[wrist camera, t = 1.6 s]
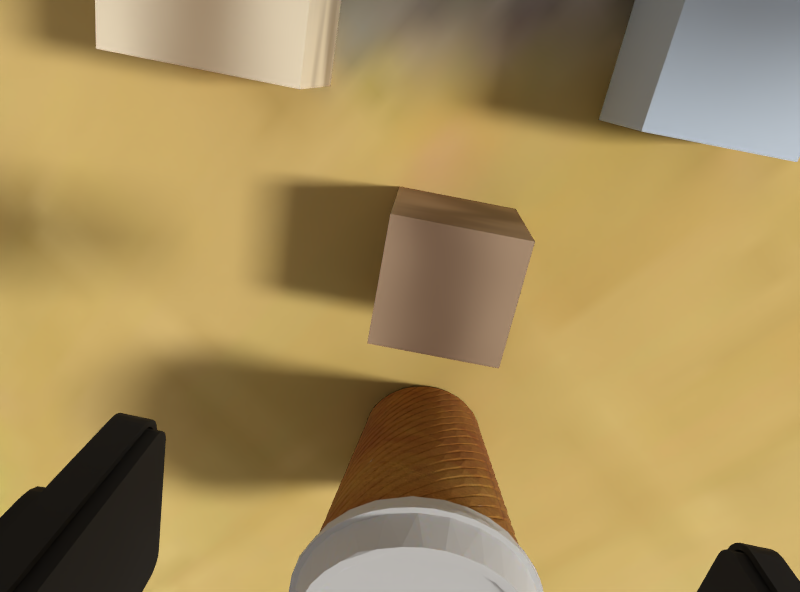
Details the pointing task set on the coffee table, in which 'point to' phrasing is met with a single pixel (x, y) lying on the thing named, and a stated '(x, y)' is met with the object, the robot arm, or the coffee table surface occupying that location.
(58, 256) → the coffee table surface
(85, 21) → the coffee table surface
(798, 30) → the slate-blue block
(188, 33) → the maple block
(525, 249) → the walnut block
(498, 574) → the disposable coffee cup
